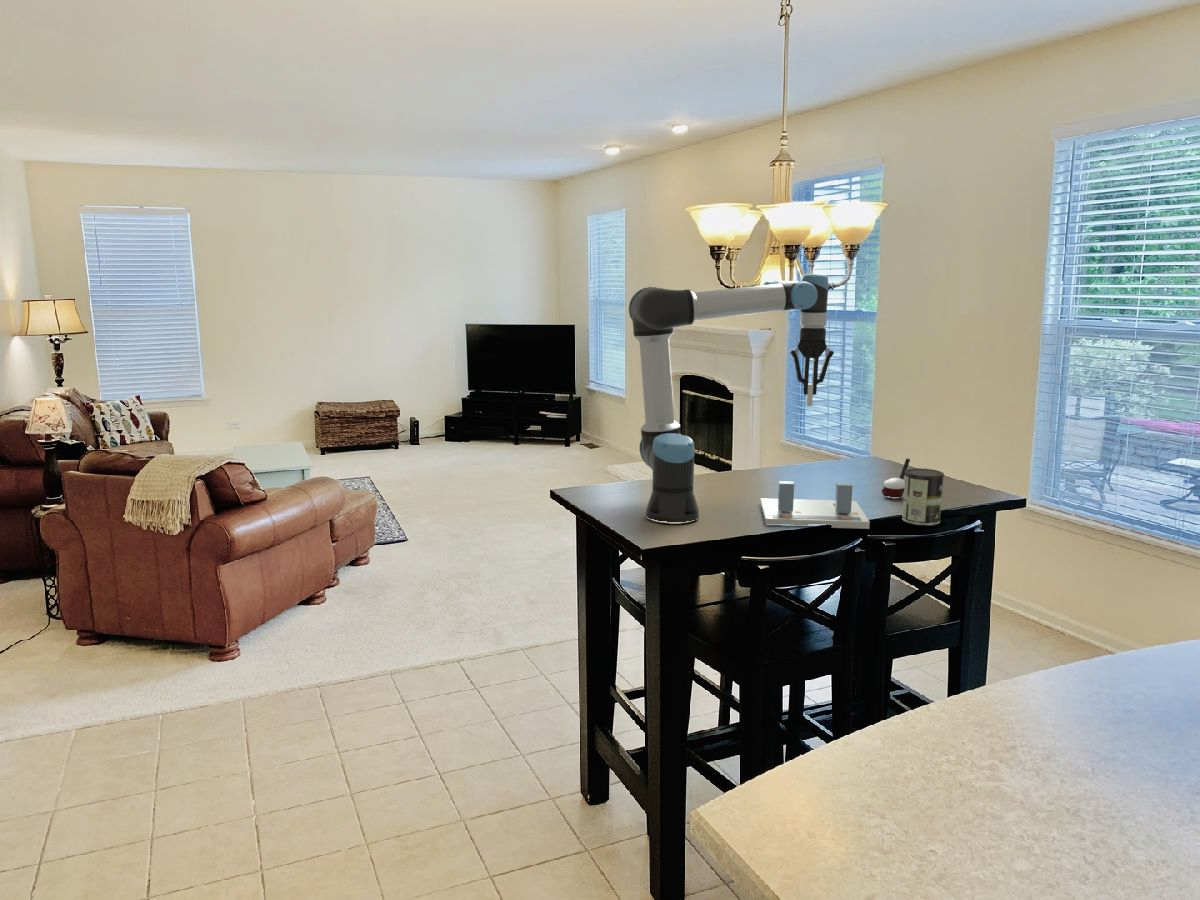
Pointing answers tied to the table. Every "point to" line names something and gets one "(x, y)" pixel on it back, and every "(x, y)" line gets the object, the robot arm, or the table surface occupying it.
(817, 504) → the switch panel
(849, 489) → the right switch tab
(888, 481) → the cocoa
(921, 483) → the coffee can
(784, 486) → the left switch tab
